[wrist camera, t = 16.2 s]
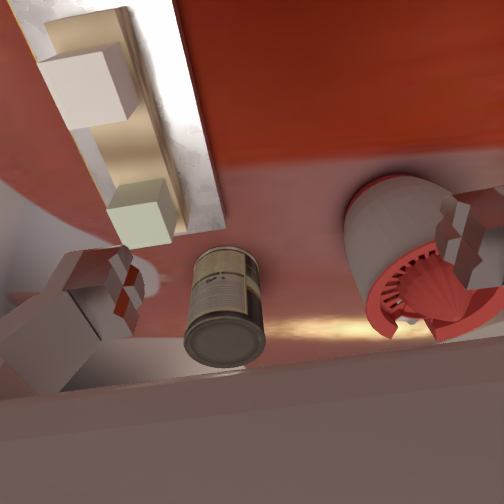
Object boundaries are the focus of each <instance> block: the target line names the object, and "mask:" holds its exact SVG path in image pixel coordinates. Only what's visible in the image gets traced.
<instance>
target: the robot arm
mask: <svg viewBox="0 0 504 504" xmlns="http://www.w3.org/2000/svg"><path fill="white" fill-rule="evenodd" d="M440 212H441V213H442V215H443V216H444V218H443V219H442V220H441V221H440V222H439V223H438V224H437V226H436V232H435V242H436V247H437V250H438V252H439V254H440V256H441V257H442V258H443V260H445V261H447V262H449V263H451V264H453V265H454V268H453V273H454V274H455V276H456V277H457V278H458V280H459V281H460V282H461V284H462V285H463V286H464V288H465V289H466V290H473V289H482V288H491V287H500V286H504V185H502V186H497V187H492V188H487V189H482V190H476V191H471V192H465V193H459V194H453V195H447V196H445V197H444V199H443V200H442V202H441V207H440ZM132 259H133V256H132V254H131V252H130V250H129V248H128V247H127V246H125V245H117V246H109V247H102V248H95V249H88V250H80V251H74V252H69V253H67V254H65V255H64V256H63V258H62V260H61V261H60V263H59V264H58V266H57V268H56V269H55V271H54V273H53V274H52V276H51V277H50V279H49V281H48V282H47V284H46V285H45V287H44V289H43V290H42V292H41V293H40V295H35V296H32V297H31V298H30V299H28V300H27V301H25V302H24V303H23V304H21V305H20V306H18V307H17V308H15V309H14V310H13V311H11V312H10V313H8V314H7V315H5V316H4V317H3V318H1V319H0V504H504V336H499V337H491V338H483V339H475V340H468V341H459V342H451V343H443V344H436V345H428V346H420V347H412V348H404V349H396V350H388V351H381V352H373V353H365V354H357V355H349V356H342V357H334V358H326V359H318V360H310V361H303V362H295V363H287V364H279V365H272V366H264V367H256V368H248V369H241V370H233V371H225V372H217V373H210V374H202V375H195V376H187V377H178V378H172V379H171V378H170V379H163V380H156V381H147V382H140V383H132V384H124V385H116V386H109V387H100V388H93V389H85V390H77V391H69V392H62V393H58V392H59V391H60V390H61V389H62V388H63V386H64V385H65V384H66V383H67V382H68V381H69V380H70V379H71V377H72V376H73V375H74V374H75V373H76V372H77V370H78V369H79V368H80V367H81V366H82V365H83V364H84V362H85V361H86V360H87V359H88V358H89V357H90V355H91V354H92V353H93V352H94V351H95V350H96V349H97V347H98V346H99V345H100V344H101V341H105V340H111V339H117V338H123V337H129V336H133V335H134V331H135V328H136V324H137V321H138V317H139V315H138V313H137V311H136V309H137V308H138V307H139V306H140V305H141V304H142V303H143V299H144V281H143V277H142V275H141V273H140V270H139V269H137V268H136V267H134V266H133V265H131V262H132ZM503 288H504V287H503Z"/></svg>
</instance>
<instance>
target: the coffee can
mask: <svg viewBox="0 0 504 504" xmlns="http://www.w3.org/2000/svg"><path fill="white" fill-rule="evenodd" d="M265 345H266V339H265V333H264V327H263V316H262V306H261V294H260V283H259V267H258V264H257V262H256V260H255V259H254V257H253V256H252V255H251V254H249V253H248V252H247V251H245V250H243V249H240V248H237V247H232V246H220V247H216V248H212V249H210V250H208V251H206V252H205V253H203V254H202V255H201V256H200V257H199V258H198V259H197V261H196V263H195V266H194V277H193V285H192V292H191V299H190V306H189V314H188V321H187V329H186V332H185V336H184V347H185V350H186V352H187V353H188V355H189V356H190V357H191V358H192V359H194V360H195V361H197V362H199V363H201V364H203V365H206V366H210V367H215V368H233V367H239V366H242V365H245V364H248V363H250V362H252V361H254V360H255V359H256V358H258V357H259V356H260V354H261V353H262V352H263V350H264V348H265Z"/></svg>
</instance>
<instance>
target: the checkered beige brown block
mask: <svg viewBox="0 0 504 504" xmlns="http://www.w3.org/2000/svg"><path fill="white" fill-rule="evenodd" d="M43 24H44V26H45V28H46V31H47V33H48V35H49V37H50V40H51V42H52V44H53V46H54V49H55V51H56V53H57V54H59V53H62V52H66V51H71V50H77V49H82V48H87V47H93V46H98V45H103V44H109V43H114V42H120V45H121V48H122V51H123V54H124V57H125V60H126V63H127V66H128V69H129V72H130V75H131V78H132V81H133V84H134V87H135V90H136V93H137V95H138V98H139V101H140V104H139V105H138V107H137V108H136V109H135V111H134V112H133V113H132V115H131V116H130V117H129V119H128V120H126V121H121V122H115V123H109V124H103V125H97V126H92V127H89V128H90V130H91V133H92V135H93V137H94V140H95V142H96V144H97V146H98V149H99V151H100V153H101V155H102V158H103V160H104V162H105V165H106V167H107V169H108V171H109V174H110V176H111V178H112V180H113V183H114V185H115V187H116V190H117V188H118V187H119V185H124V184H130V183H136V182H142V181H148V180H154V179H160V178H165V181H166V184H167V187H168V190H169V192H170V195H171V198H172V201H173V204H174V207H175V210H176V213H177V216H178V219H177V223H176V227H175V232H174V233H180V232H186V231H187V229H188V223H189V218H190V211H189V208H188V205H187V201H186V198H185V195H184V192H183V188H182V185H181V182H180V179H179V175H178V172H177V169H176V166H175V162H174V159H173V156H172V153H171V149H170V146H169V143H168V140H167V136H166V133H165V130H164V127H163V123H162V120H161V117H160V114H159V110H158V107H157V104H156V101H155V97H154V94H153V91H152V88H151V84H150V81H149V78H148V75H147V71H146V68H145V65H144V62H143V58H142V55H141V52H140V49H139V45H138V42H137V39H136V36H135V32H134V29H133V26H132V23H131V19H130V16H129V13H128V10H127V6H123V7H118V8H113V9H107V10H102V11H97V12H92V13H87V14H82V15H76V16H71V17H66V18H61V19H57V20H53V21H48V22H44V23H43Z"/></svg>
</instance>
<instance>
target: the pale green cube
mask: <svg viewBox="0 0 504 504" xmlns="http://www.w3.org/2000/svg"><path fill="white" fill-rule="evenodd" d="M106 211H107V213H108V215H109V217H110V219H111V221H112V223H113V225H114V227H115V229H116V231H117V233H118V236H119V238H120V240H121V242H122V244H123V245H125V246H127V247H128V248H129V249H136V248H142V247H149V246H155V245H162V244H168V243H172V241H173V236H174V232H175V227H176V223H177V219H178V216H177V213H176V210H175V207H174V204H173V201H172V198H171V195H170V192H169V190H168V187H167V184H166V181H165V178H160V179H154V180H148V181H142V182H136V183H130V184H124V185H119V187H118V188H117V190H116V192H115V194H114V196H113V198H112V199H111V201H110V203H109V205H108V207H107V209H106Z"/></svg>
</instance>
